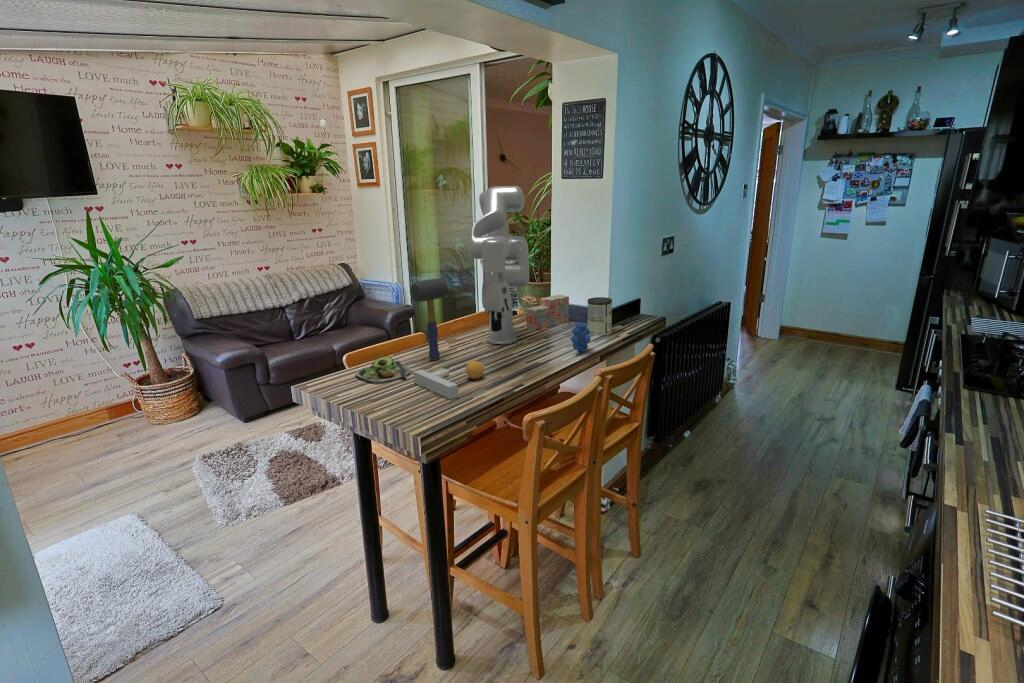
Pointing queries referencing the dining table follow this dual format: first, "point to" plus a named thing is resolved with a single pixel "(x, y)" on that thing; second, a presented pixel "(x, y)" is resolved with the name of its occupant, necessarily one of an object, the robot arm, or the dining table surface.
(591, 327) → the coffee can
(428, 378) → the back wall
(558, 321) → the stack of blocks
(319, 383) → the dining table surface
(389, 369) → the salad plate
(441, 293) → the rubber mallet
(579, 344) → the grapes
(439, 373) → the pin
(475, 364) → the ball
